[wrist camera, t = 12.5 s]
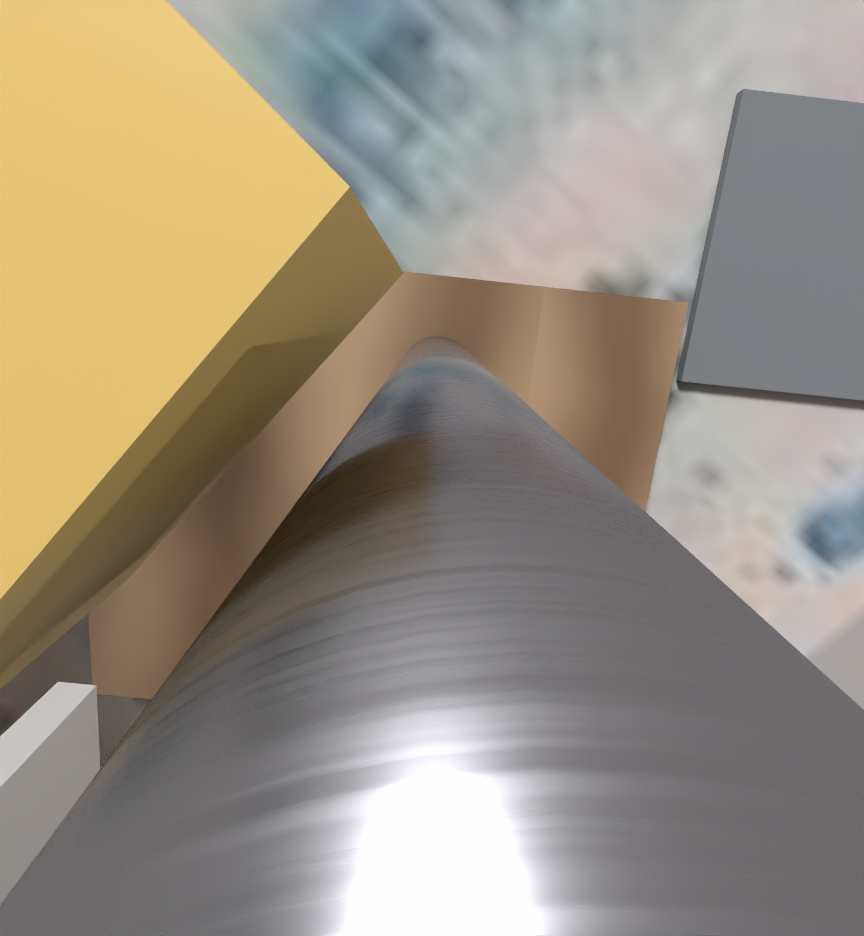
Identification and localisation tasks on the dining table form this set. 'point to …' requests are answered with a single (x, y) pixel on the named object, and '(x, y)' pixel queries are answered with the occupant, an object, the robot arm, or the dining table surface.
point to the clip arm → (146, 292)
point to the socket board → (345, 398)
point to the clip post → (469, 718)
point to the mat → (784, 252)
